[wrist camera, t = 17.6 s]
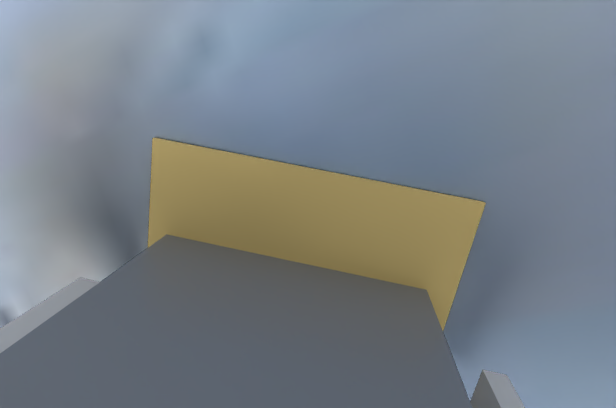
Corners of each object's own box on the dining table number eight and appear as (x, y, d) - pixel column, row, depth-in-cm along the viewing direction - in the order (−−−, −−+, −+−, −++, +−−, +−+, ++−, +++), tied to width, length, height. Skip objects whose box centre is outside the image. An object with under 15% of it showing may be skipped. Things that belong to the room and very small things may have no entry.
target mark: (399, 456, 16) (399, 460, 16) (143, 393, 17) (141, 396, 17) (483, 201, 12) (485, 203, 12) (155, 137, 13) (152, 138, 13)
